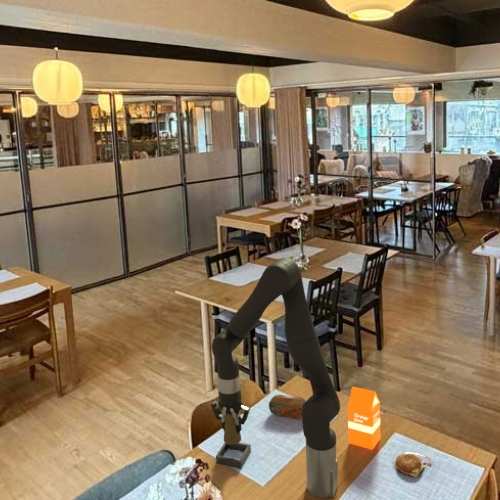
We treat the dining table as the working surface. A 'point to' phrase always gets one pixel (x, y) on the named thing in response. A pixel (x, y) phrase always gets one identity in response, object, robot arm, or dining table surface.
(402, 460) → the hamburger
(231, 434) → the cork
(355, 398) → the orange juice
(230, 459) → the steel collar
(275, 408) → the tin
